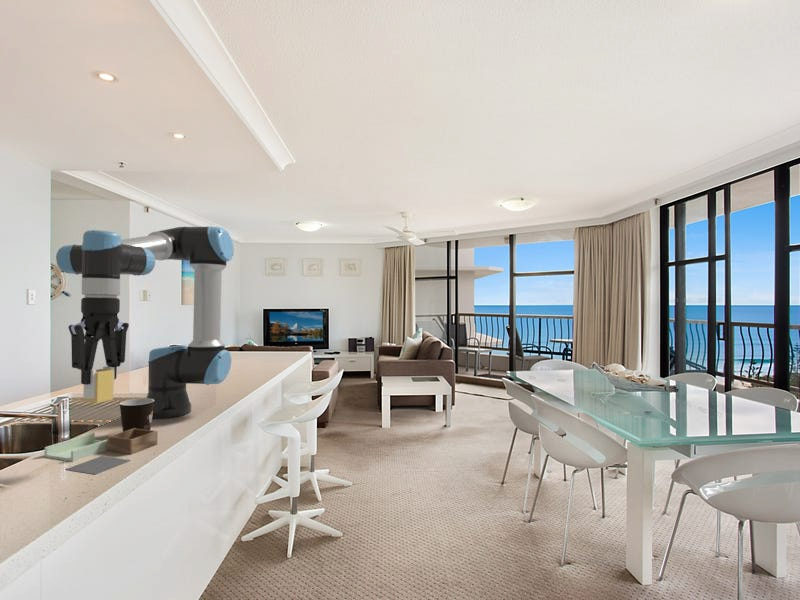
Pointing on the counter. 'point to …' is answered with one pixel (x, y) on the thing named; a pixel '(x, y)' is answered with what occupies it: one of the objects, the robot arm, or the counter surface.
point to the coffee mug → (136, 413)
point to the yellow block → (103, 386)
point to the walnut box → (132, 441)
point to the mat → (97, 465)
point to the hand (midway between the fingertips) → (99, 395)
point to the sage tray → (76, 448)
